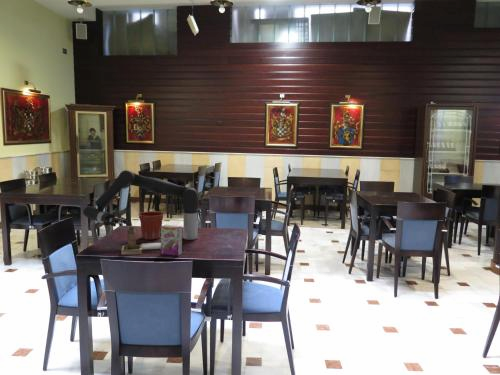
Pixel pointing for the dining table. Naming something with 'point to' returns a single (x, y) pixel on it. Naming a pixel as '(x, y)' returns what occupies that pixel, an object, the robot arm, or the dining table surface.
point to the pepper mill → (131, 238)
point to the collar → (135, 251)
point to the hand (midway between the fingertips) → (121, 223)
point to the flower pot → (151, 224)
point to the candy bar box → (171, 240)
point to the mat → (151, 245)
